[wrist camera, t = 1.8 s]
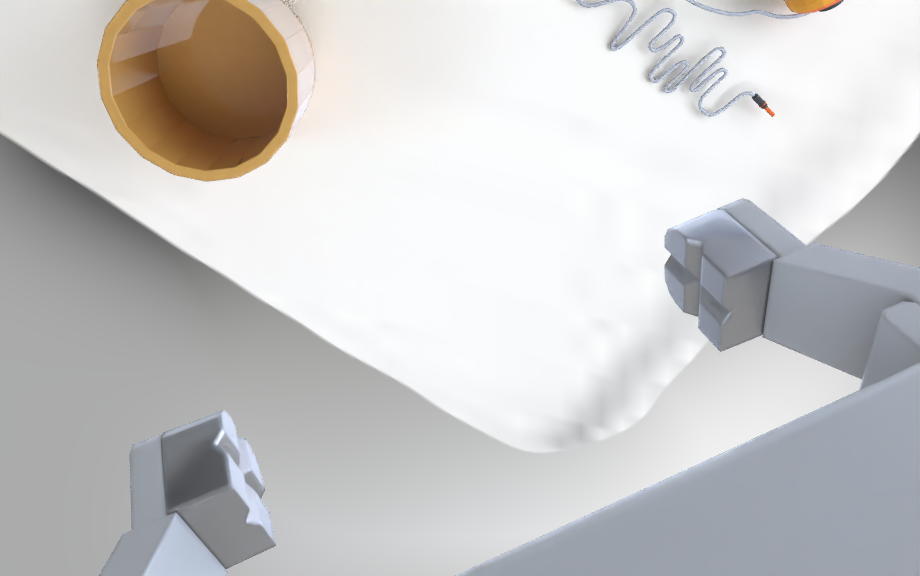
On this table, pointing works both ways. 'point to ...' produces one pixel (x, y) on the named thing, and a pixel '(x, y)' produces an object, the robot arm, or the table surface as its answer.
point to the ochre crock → (206, 82)
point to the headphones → (802, 3)
